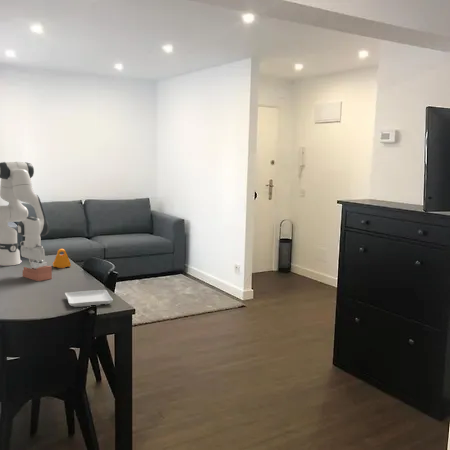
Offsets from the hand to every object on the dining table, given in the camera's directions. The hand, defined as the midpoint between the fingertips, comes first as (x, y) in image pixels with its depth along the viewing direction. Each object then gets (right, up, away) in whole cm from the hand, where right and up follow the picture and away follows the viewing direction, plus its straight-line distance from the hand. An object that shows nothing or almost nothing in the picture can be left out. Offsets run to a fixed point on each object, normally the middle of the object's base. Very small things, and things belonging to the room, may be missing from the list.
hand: (32, 266), depth 299 cm
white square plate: (+46, -14, -47) cm, 68 cm away
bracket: (+7, -3, +31) cm, 32 cm away
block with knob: (+5, -3, -4) cm, 7 cm away
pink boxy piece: (+3, -7, -2) cm, 7 cm away
